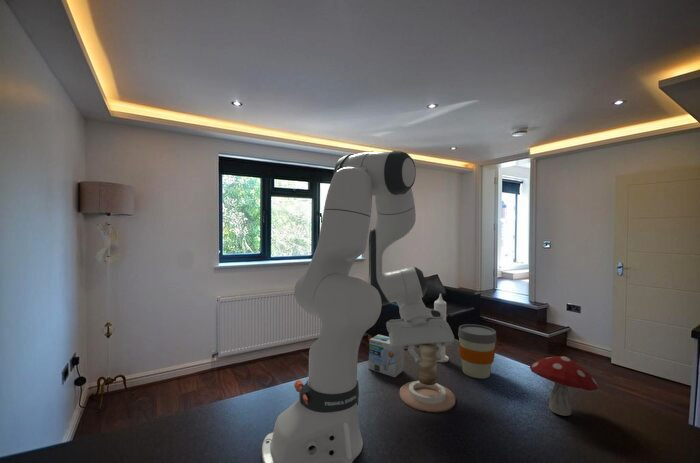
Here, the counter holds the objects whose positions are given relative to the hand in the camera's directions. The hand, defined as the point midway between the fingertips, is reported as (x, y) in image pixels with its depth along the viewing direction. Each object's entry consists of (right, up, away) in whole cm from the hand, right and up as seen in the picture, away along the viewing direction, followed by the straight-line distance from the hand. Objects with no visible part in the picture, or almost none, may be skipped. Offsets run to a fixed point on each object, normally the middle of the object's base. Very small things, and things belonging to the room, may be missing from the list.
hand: (428, 360), depth 94 cm
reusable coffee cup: (+21, -11, +18) cm, 30 cm away
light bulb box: (-11, -11, +18) cm, 24 cm away
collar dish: (0, -11, +1) cm, 11 cm away
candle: (+11, -11, +29) cm, 33 cm away
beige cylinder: (0, -6, +1) cm, 6 cm away
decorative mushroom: (+35, -12, -6) cm, 38 cm away
